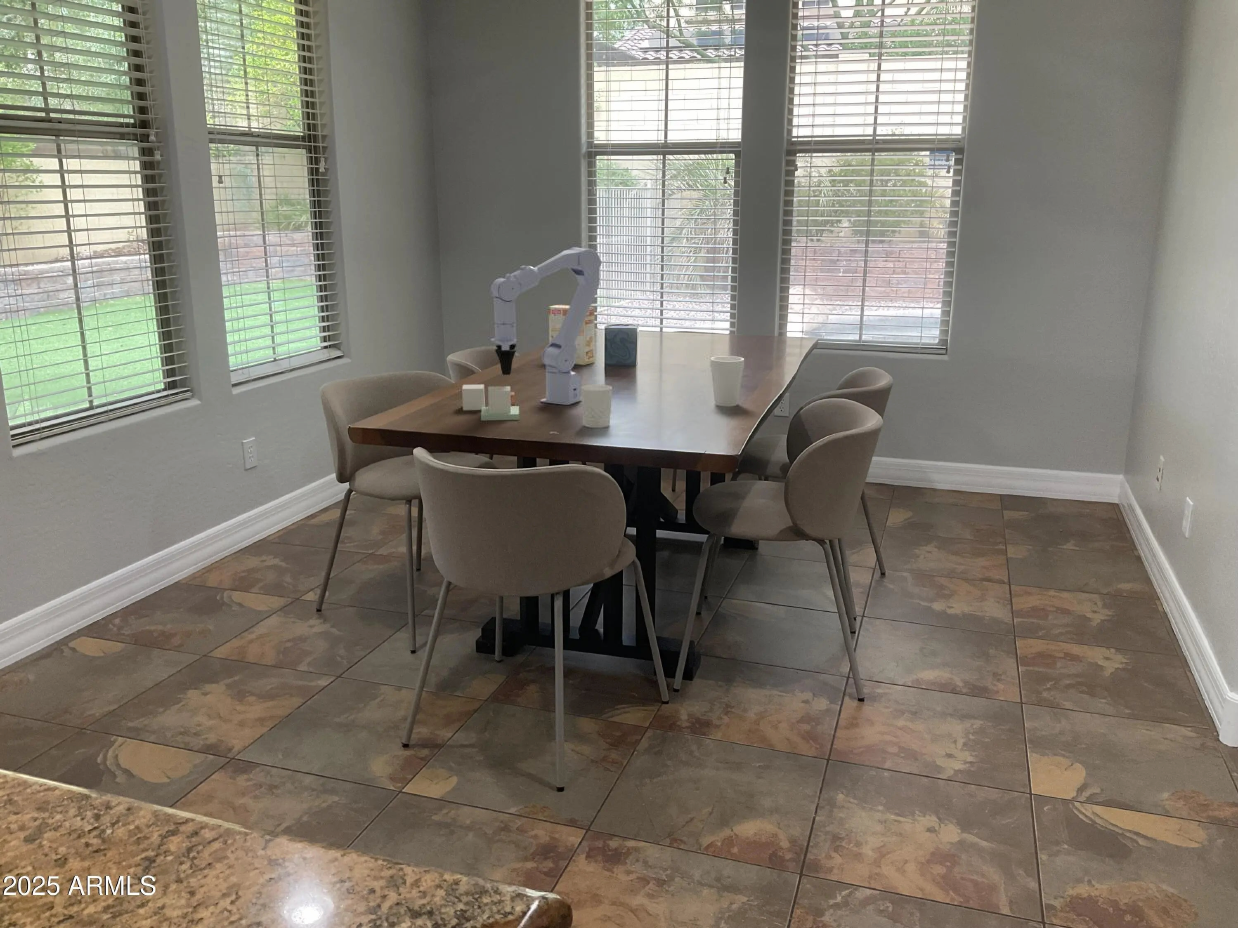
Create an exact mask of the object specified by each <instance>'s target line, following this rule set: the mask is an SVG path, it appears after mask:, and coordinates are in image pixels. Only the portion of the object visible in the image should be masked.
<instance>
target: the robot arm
mask: <svg viewBox="0 0 1238 928" xmlns="http://www.w3.org/2000/svg"><path fill="white" fill-rule="evenodd" d="M602 264H603V263H602V260H601V258H600V255H599V254H598V251H596V250H595V249H593V248H580V247H577V246H574V247H571V248H569V249H566V250H563V251H562V252H560V253H558V254H556V255H555V256H553V257H551V258H549V259H548V260H545V261H544V262H542V263H540V264H538V265H536V266H535V267H533V266H531V265H527V266H526V265H522V266H520V267H519V269H518V270H516V271H515V272H513V273H511V274H510V273H507V274H506V275H505V277H504V278H503V277H500V278H497V279H495V280H494V281H493V283H491V287H490V288H489V294H490V295H491V297H492V298H493V313H494V314H493V316H494V319H493V320H494V338H491V339H490V343H496V344H495V347H496V348H495V349H494V351H495V354H496V356H497V357H498V360H499V365H500V368H501V374H502V376H511V373H512V369H513V368H512V366H513V360H514V356H515V355H516V352H517V349H516V347H517V342H518V341H517V331H516V330H517V329H516V328H517V327H516V326H517V324H516V299H517V298H518V296H519V295H521V294H522V293H524V292H526V291H528V290H530V289H532V288H534V287H536V286H537V285H539V282H540V280H541V279H542V278H544V277H547V276H549V275H551V274H554V273H555V272H557V271H560V270H562V269H565V268H566V269H569V270H570V271H571V272H572V273H573V275H575V277H576V280H577V283H578V286H577V288H576V291H575V293H574V296H573V298H572V300H571V303H570V305H569V306H570V307H569V309H568V312H567V314H566V316H565V319H564V321H563V323H562V326H561V328H560V330H559V333H558V335H557V336H555V337H554V338H553V339H552V340H551V342H550V344H548V345H547V346H546V347H545V348H544V349H543V351H542V353H541V360H542V362H543V364H544V365H545V385H546V387H545V388H546V390H545V391H546V395H545V396H546V397H545V398H542V399H540V402H542V403H549V404H557V405H565V406H568V405H572V404H575V403H578V402H580V401H581V402H582V395H581V377H580V375H579V374H578V372H574V371H572V369H573V367H574V366H575V365H576V364H575V354H576V351H577V347H576V343H575V341H576V339H577V336H578V334H579V332H580V329H581V327H582V325H583V322H584V320H585V318H586V315H587V313H588V311H589V308H590V307H592V306H591V305H592V303H593V301H594V300H595V296H596V294H597V292H598V290H599V288H600V287H599V286H600V282H601V281H600V280H601V278H600V277H601V274H600V271H601V270H600V268H601V266H602Z"/></svg>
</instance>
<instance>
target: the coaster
mask: <svg viewBox="0 0 1238 928" xmlns="http://www.w3.org/2000/svg"><path fill="white" fill-rule="evenodd" d="M480 411H481V413H480V421H517V420H518V421H519V420H520V406H517V405H515V406H511V413H489V406H485V407H482V410H480Z"/></svg>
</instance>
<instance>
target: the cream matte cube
mask: <svg viewBox="0 0 1238 928" xmlns="http://www.w3.org/2000/svg"><path fill="white" fill-rule="evenodd" d="M510 392H511V386H508V385H507V386H506V385H505V386H500V385H499V386H488V389H487V398H488V399H487V400H488V407H489V413H511V396H510Z"/></svg>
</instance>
